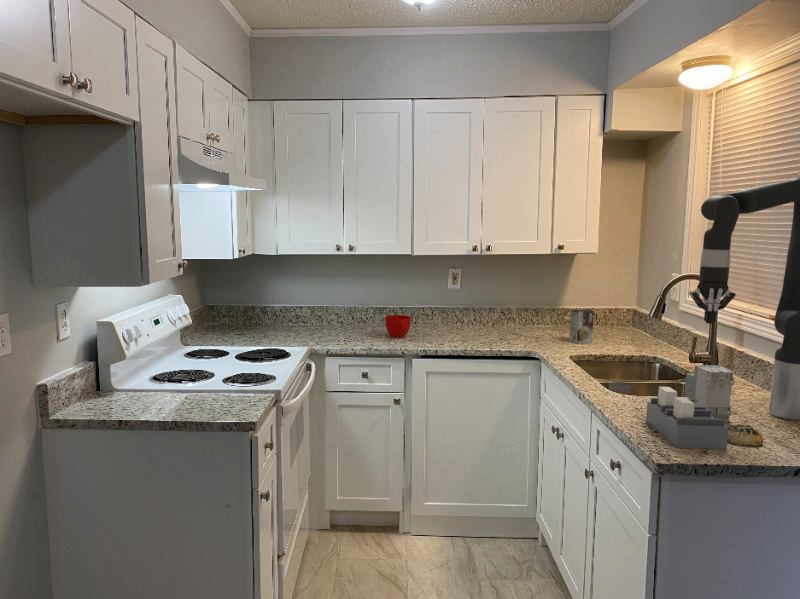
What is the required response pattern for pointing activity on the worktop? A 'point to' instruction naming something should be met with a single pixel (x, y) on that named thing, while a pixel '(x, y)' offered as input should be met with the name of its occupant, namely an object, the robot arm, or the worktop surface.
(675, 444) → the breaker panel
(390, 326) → the ceramic cup
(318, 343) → the worktop surface
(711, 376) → the circuit breaker
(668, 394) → the block
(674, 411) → the breaker
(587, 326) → the coffee box
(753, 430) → the bread roll
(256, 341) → the worktop surface
